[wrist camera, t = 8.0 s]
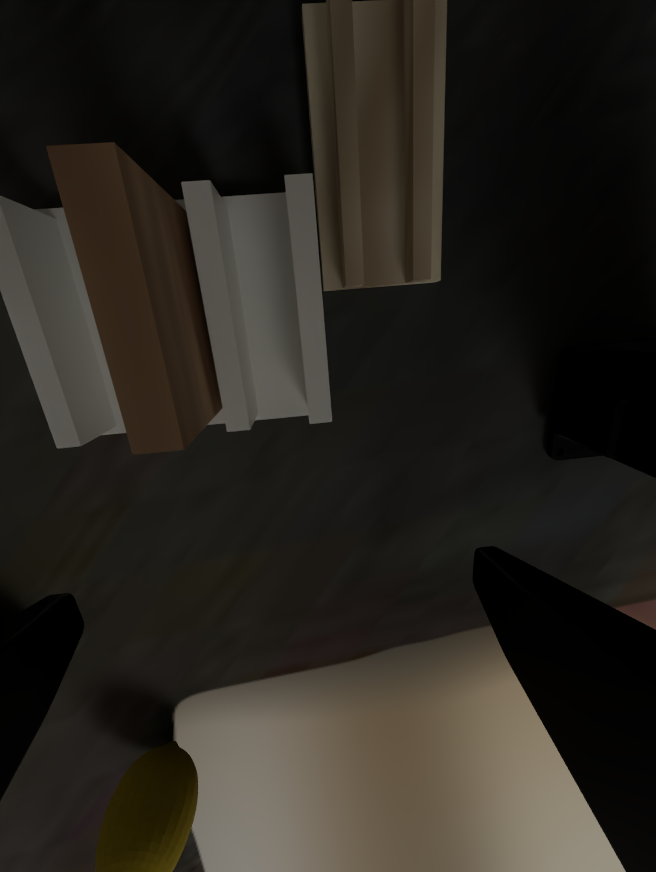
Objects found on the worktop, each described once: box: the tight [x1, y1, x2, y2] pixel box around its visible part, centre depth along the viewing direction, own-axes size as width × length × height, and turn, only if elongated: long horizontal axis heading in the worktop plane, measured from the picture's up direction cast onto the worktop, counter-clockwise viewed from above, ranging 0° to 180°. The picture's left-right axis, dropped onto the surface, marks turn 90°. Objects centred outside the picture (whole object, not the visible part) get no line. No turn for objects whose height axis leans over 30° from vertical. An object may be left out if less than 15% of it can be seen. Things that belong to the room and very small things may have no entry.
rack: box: [0, 173, 332, 448], centre depth 15 cm, size 12×10×4 cm
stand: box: [302, 0, 447, 291], centre depth 14 cm, size 6×10×2 cm, turn 5°
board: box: [46, 142, 223, 455], centre depth 13 cm, size 2×8×7 cm, turn 5°
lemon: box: [95, 741, 198, 872], centre depth 22 cm, size 6×6×8 cm
